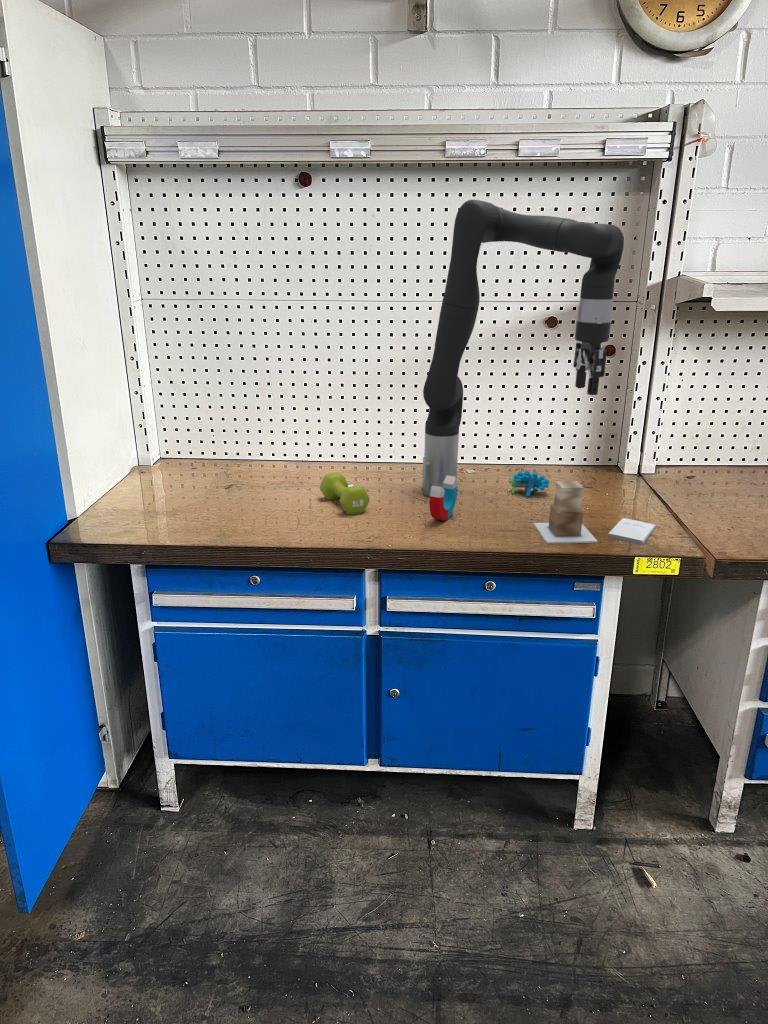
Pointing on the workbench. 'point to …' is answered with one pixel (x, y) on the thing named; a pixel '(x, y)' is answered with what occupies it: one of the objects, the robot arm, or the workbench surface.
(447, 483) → the magnet
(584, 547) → the workbench surface
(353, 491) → the dumbbell
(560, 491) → the maple block
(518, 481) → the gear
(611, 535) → the external hard drive
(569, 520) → the walnut block
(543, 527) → the white square plate
